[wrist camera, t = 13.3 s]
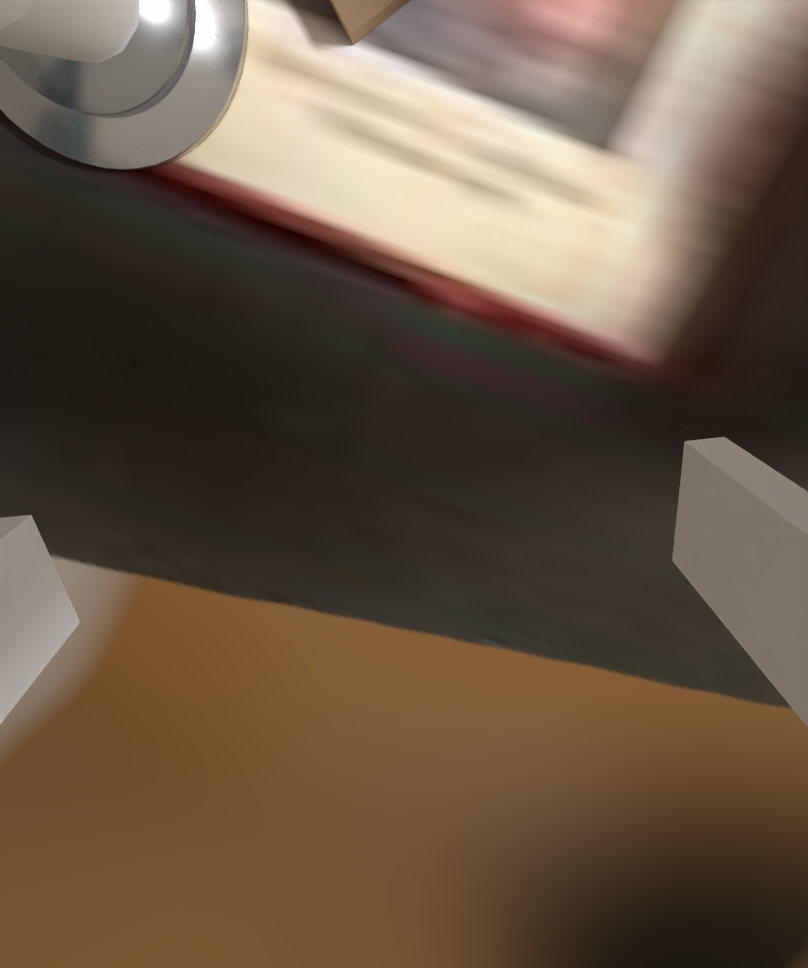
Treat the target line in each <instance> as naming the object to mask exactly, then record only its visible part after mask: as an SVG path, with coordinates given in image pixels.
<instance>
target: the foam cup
mask: <svg viewBox="0 0 808 968" xmlns="http://www.w3.org/2000/svg"><path fill="white" fill-rule="evenodd" d="M139 8H140V0H0V46H3V47H7V48H12V49H17V50H22V51H27V52H32V53H37V54H42V55H47V56H52V57H57V58H62V59H68V60H75V61H84V62H93V63H101V62H103V61H105V60H107V59H109V58H111V57H113V56H115V55H117V54H119V53H121V52H123V50H124V49H125V47H126V45H127V44H128V42H129V40H130V39H131V37H132V35H133V34H134V32H135V31H136V29H137V27H138V18H139Z"/></svg>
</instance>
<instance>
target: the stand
mask: <svg viewBox="0 0 808 968" xmlns="http://www.w3.org/2000/svg"><path fill="white" fill-rule="evenodd" d="M409 1H411V0H329V2H330V3H331V5H332V7H333V9H334V11H335V13H336V15H337V17H338V19H339V20H340V22H341V24H342V26H343V28H344V30H345V32H346V34H347V36H348V37H349V39H350V41H351V43H352V45H354V44H355V43H357V42H358V41H359V40H360V39H362V38H363V37H364V36H366V35H367V34H368V33H369V32H371V31H372V30H373V29H375V28H376V27H377V26H378V25H380V24H381V23H382V22H384V21H385V20H386V19H387V18H389V17H390V16H391V15H393V14H394V13H395V12H396V11H398V10H399V9H400V8H402V7H403V6H404V5H405V4H407V3H408V2H409Z"/></svg>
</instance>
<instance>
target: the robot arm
mask: <svg viewBox="0 0 808 968" xmlns="http://www.w3.org/2000/svg"><path fill="white" fill-rule="evenodd" d="M672 561H673V562H674V563H675V564H676V566H677V567H678V568H679V569H680V571H681V572H682V573H683V574H684V575H685V577H686V578H687V579H688V580H689V582H690V583H691V584H692V585H693V587H694V588H695V589H696V590H697V591H698V593H699V594H700V595H701V596H702V598H703V599H704V600H705V601H706V603H707V604H708V605H709V606H710V607H711V609H712V610H713V611H714V612H715V614H716V615H717V616H718V617H719V619H720V620H721V621H722V622H723V623H724V625H725V626H726V627H727V628H728V630H729V631H730V632H731V633H732V635H733V636H734V637H735V638H736V639H737V641H738V642H739V643H740V644H741V646H742V647H743V648H744V649H745V651H746V652H747V653H748V654H749V655H750V657H751V658H752V659H753V660H754V662H755V663H756V664H757V665H758V667H759V668H760V669H761V670H762V672H763V673H764V674H765V675H766V676H767V678H768V679H769V680H770V681H771V683H772V684H773V685H774V686H775V688H776V689H777V690H778V691H779V692H780V694H781V695H782V696H783V697H784V699H785V700H786V701H787V702H788V704H789V705H790V706H791V707H792V708H793V710H794V711H795V712H796V713H797V715H798V716H799V717H800V718H801V719H802V721H803V722H804V723H805V724H806V725H807V727H808V492H807V491H806V490H804V489H803V488H801V487H800V486H798V485H797V484H795V483H794V482H792V481H791V480H789V479H788V478H786V477H785V476H783V475H782V474H780V473H779V472H777V471H775V470H774V469H772V468H771V467H769V466H768V465H766V464H765V463H763V462H762V461H760V460H759V459H757V458H756V457H754V456H753V455H751V454H750V453H748V452H747V451H745V450H744V449H742V448H741V447H739V446H738V445H736V444H735V443H733V442H732V441H730V440H729V439H727V438H725V437H718V438H710V439H701V440H692V441H685V442H684V451H683V461H682V471H681V481H680V490H679V500H678V510H677V520H676V529H675V539H674V549H673V559H672ZM79 623H80V621H79V619H78V617H77V615H76V613H75V610H74V608H73V606H72V604H71V601H70V599H69V597H68V595H67V593H66V591H65V589H64V586H63V584H62V582H61V579H60V577H59V575H58V573H57V571H56V568H55V566H54V564H53V562H52V560H51V557H50V555H49V553H48V551H47V549H46V546H45V544H44V542H43V540H42V538H41V535H40V533H39V531H38V529H37V527H36V524H35V522H34V520H33V518H32V515H24V516H15V517H6V518H0V724H1V723H2V721H3V720H4V719H5V717H6V716H7V715H8V713H9V712H10V711H11V710H12V708H13V707H14V706H15V705H16V703H17V702H18V701H19V699H20V698H21V697H22V696H23V694H24V693H25V692H26V691H27V689H28V688H29V687H30V686H31V684H32V683H33V682H34V680H35V679H36V678H37V677H38V675H39V674H40V673H41V671H42V670H43V669H44V668H45V666H46V665H47V664H48V663H49V661H50V660H51V659H52V658H53V656H54V655H55V654H56V652H57V651H58V650H59V649H60V647H61V646H62V645H63V643H64V642H65V641H66V640H67V638H68V637H69V636H70V635H71V633H72V632H73V631H74V629H75V628H76V627H77V625H78V624H79Z"/></svg>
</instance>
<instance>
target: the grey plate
mask: <svg viewBox="0 0 808 968" xmlns="http://www.w3.org/2000/svg"><path fill="white" fill-rule="evenodd" d="M247 41H248V2H247V0H140V8H139V18H138V27H137V29H136V31H135V32H134V34H133V35H132V37H131V39H130V40H129V42H128V44H127V45H126V47H125V49H124V50H123V52H121V53H119V54H117V55H115V56H113V57H111V58H109V59H107V60H105V61H103V62H101V63H93V62H84V61H75V60H68V59H62V58H57V57H52V56H47V55H42V54H37V53H32V52H27V51H22V50H17V49H12V48H7V47H3V46H0V110H1V111H2V112H3V113H4V114H5V115H6V116H7V117H8V118H9V119H10V120H11V121H13V122H14V123H15V124H16V125H17V126H19V127H20V128H21V129H22V130H23V131H25V132H26V133H27V134H28V135H30V136H31V137H33V138H34V139H36V140H37V141H39V142H40V143H42V144H43V145H45V146H46V147H48V148H50V149H52V150H54V151H56V152H58V153H60V154H62V155H63V156H66V157H68V158H71V159H74V160H76V161H79V162H82V163H85V164H90V165H94V166H98V167H103V168H108V169H118V170H142V169H149V168H153V167H158V166H162V165H165V164H167V163H170V162H172V161H175V160H177V159H179V158H181V157H182V156H184V155H186V154H188V153H189V152H191V151H192V150H194V149H195V148H196V147H197V146H198V145H200V144H201V143H202V142H203V141H205V140H206V139H207V137H208V136H209V135H210V134H211V133H212V132H213V131H214V129H215V128H216V127H217V126H218V125H219V123H220V121H221V120H222V118H223V117H224V115H225V114H226V112H227V111H228V109H229V107H230V105H231V102H232V100H233V98H234V96H235V94H236V91H237V88H238V85H239V82H240V79H241V76H242V73H243V68H244V63H245V57H246V52H247Z"/></svg>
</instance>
